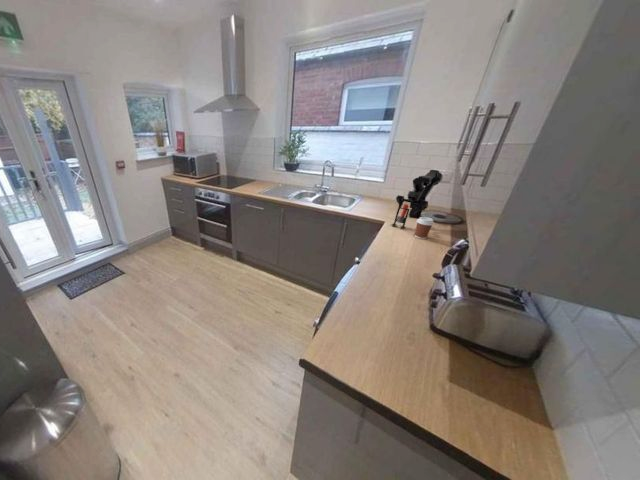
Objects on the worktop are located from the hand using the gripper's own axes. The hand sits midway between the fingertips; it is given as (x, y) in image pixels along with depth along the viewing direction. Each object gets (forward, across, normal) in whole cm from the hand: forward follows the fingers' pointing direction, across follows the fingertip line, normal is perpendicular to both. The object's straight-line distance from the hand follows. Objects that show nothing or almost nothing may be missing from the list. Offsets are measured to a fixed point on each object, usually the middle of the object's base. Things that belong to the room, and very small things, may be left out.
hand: (405, 212), depth 172 cm
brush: (+8, 0, +1) cm, 8 cm away
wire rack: (+11, 0, +2) cm, 11 cm away
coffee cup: (+14, +15, -1) cm, 21 cm away
